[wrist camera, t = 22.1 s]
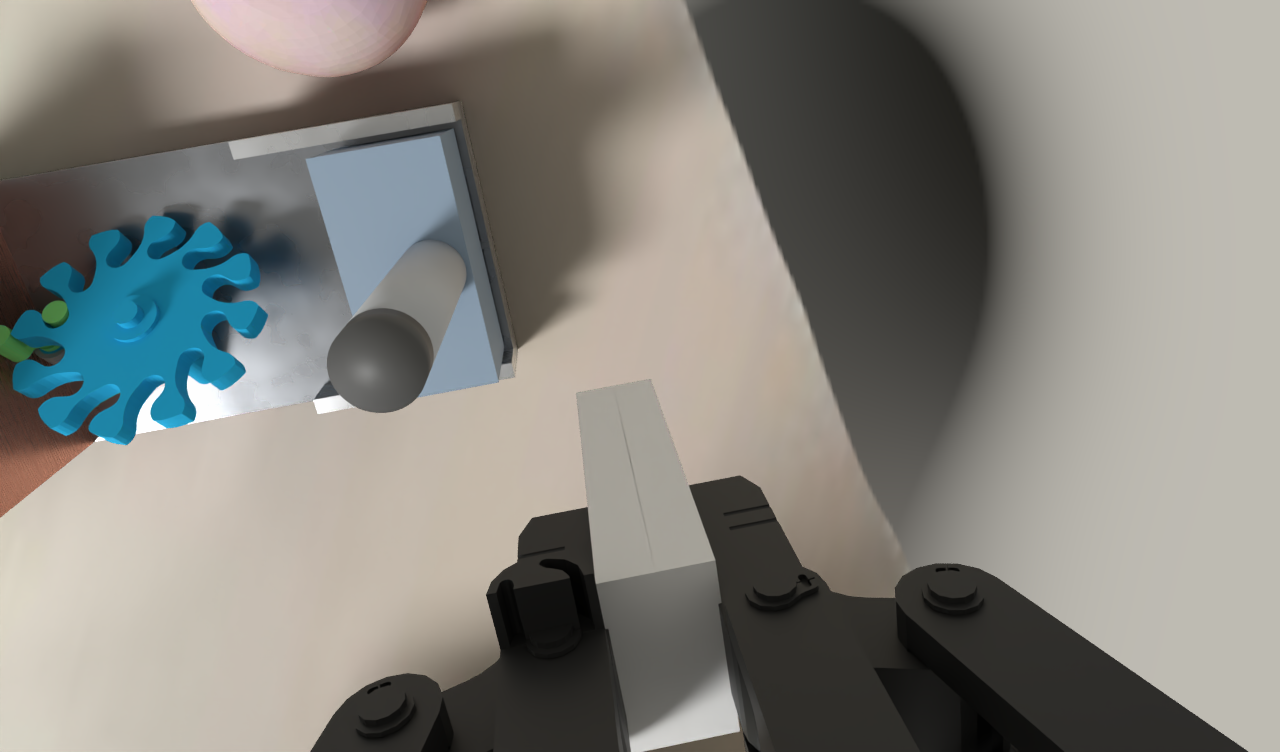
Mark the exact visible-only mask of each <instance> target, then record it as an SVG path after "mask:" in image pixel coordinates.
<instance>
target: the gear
mask: <svg viewBox="0 0 1280 752" xmlns="http://www.w3.org/2000/svg"><path fill="white" fill-rule="evenodd" d="M185 236H186V231H185V230H184V229H183V228H182V227H181V226H180V225H179V224H178V223H177V222H176V221H175V220H173V219H171V218H168V217H163V216H152V217H150V218H149V219H148V220H147V222H146V224H145V227H144V236H143V240H142V243H141V245H140V246H139V248H138V250H137V251H136V252H135V254H134V255H133V256H132V257H131V258H130V259H129V260H128V262H127V263H125V264H124V265H123V266H120V265H121V263H122V262H123V261H124V260H125V259H126V258H127V257H128V256H129V254H130V253H131V250H132V243H131V241H130V240H129V239H128V238H126V237H125V236H124V235H123V234H122V233H121V232H120V231H119V230H108V231H104V232H100V233H98V234H95V235H92V236H91V238H90V240H89V247H90V249H91V250H92V251H93V253H94V255H95V258H96V272H95V276H94V279H93V282H92V284H91V286H90V287H89V288H88V289H86V290H85V291H83V288H84V285H85V278H84V276H83V275H82V274H81V273H80V272H78V271H77V270H76V269H74V268H73V267H72V266H70V265H69V264H68V263H65V262H62V263H60V264H58V265H56V266H55V267H53V268H52V269H50V270H49V271H48V272H46V273H45V274H44V275H43V276H42V277H41V278H40V283H41V285H42V286H43V287H44V288H46V289H47V290H48V291H50V292H51V293H53V294H54V295H56V296H57V297H59V298H61V299H64V300H65V302H66V303H65V302H63V301H59V300H58V301H53V302H51V303H49V304H48V305H47V306H46V307H45V308H44V309H43V311H42V314H41V313H39V312H37V311H35V310H27V311H25V312H24V313H23V314H22V315H21V317H20V318H19V319H18V321H17V322H16V324H15V326H14V328H13V330H11V329H10V328H8V327H6V326H4V325H0V355H2V356H4V357H6V358H7V359H9V360H11V361H13V362H19V363H17V364H16V365H15V368H14V371H13V390H15V391H17V392H19V393H21V394H23V395H25V396H27V397H29V398H39V397H42V396H44V395H45V394H47V393H48V392H50V391H51V390H53V389H54V388H56V387H58V386H60V385H63V384H65V383H69V382H73V381H84V382H83V385H82V387H81V389H80V390H79V391H78V392H77V393H75V394H74V395H71V396H63V397H53V398H50V399H48V400H46V401H45V402H44V403H43V404H42V405H41V406H40V407H39V408H38V412H39V415H40V417H41V419H42V420H43V421H44V423H45V424H46V425H47V426H48V427H49V428H51V429H53V430H55V431H57V432H59V433H61V434H63V435H65V436H67V435H70V434H72V433H74V432H75V431H77V430H78V429H79V428H80V426H81V425H82V423H83V422H84V420H85V418H86V417H87V416H88V415H89V413H90V412H91V411H92V410H93V409H94V408H95V407H97V406H98V405H99V404H100V403H102V402H103V401H105V400H107V399H109V398H111V397H112V396H114V395H116V394H119V393H120V397H119V399H118V401H117V402H116V403H115V404H114V405H113V406H111V407H109V408H107V409H105V410H104V411H102V412H100V413H98V414H97V415H96V416H95V417H94V418H93V419H92V421H91V423H90V425H89V431H90V432H91V433H93V434H95V435H97V436H99V437H101V438H103V439H105V440H107V441H109V442H111V443H116V444H122V445H128V444H129V443H130V442H131V441H132V440H133V438H134V436H135V435H136V431H137V420H138V415H139V413H140V410H141V408H142V406H143V404H144V403H145V401H146V400H147V399H148V397H149V396H150V395H151V394H152V393H153V391H154V390H155V389H156V388H157V387H159V386H160V385H162V384H165V387H164V390H163V391H162V393H161V394H160V395H159V396H158V398H157V399H156V400H155V401H154V403H153V404H152V407H151V410H150V415H151V418H152V420H153V421H155V422H157V423H158V424H160V425H162V426H163V427H165V428H174V427H179V426H183V425H186V424H188V423H191V422H193V421H194V420H195V418H196V414H197V411H196V407H195V405H194V404H193V403H192V402H191V400H190V398H189V395H188V391H187V380H188V375H189V376H190V377H192V378H193V379H194V380H196V381H197V382H198V383H200V384H208V383H211V384H212V385H214V386H215V387H216V388H218V389H219V390H222V391H223V390H225V389H227V388H229V387H230V386H232V385H233V384H234V383H235V382H237V381H238V380H239V379H240V378H241V377H242V376H243V375H244V374H245V373H246V370H245V367H244V365H243V364H242V363H241V362H240V361H238V360H237V359H236V358H235V357H234V356H232V355H231V354H229V353H227V352H224V351H220V350H218V348H217V347H216V345H215V342H214V340H213V338H212V331H213V329H214V327H215V326H216V325H217V324H218V323H220V322H221V321H225V320H228V322H229V324H230V325H231V326H232V327H233V328H234V329H235V330H236V331H237V332H238V333H240V334H241V335H242V336H243V337H245V338H248V339H254V338H257V336H258V335H259V334H260V333H261V331H262V329H263V328H264V325H265V323H266V321H267V318H268V314H267V313H266V312H265V311H264V310H263V309H262V308H261V307H260V306H259V305H258V304H257V303H256V302H254V301H250V300H247V301H241V302H236V303H224V302H220V301H217V300H214V299H213V294H214V292H215V291H216V290H217V289H218V288H219V287H221V286H223V285H232V286H234V287H236V288H238V289H240V290H244V291H249V290H253V289H255V288H257V287H258V286H259V284H260V270H259V266H258V264H257V263H256V262H255V260H254V259H253V258H252V257H251V256H250V255H249V254H247V253H240V254H237V255H235V256H233V257H231V258H230V259H229V260H227V261H225V262H224V263H222V264H220V265H217V266H215V267H211V268H207V269H197V270H194V267H195V266H196V264H197V263H199V262H200V261H202V260H205V259H217V258H221V257H224V256H226V255H227V254H229V253H230V251H231V250H232V249H233V247H232V244H231V243H230V241H229V240H228V239H227V238H226V237H225V236H224V235H223V234H222V232H221V231H220V230H219V229H218V228H217V227H216V226H214V225H213V224H212V223H210V222H207V223H204V224H202V225H201V226H200V227H198V228H197V230H196V231H195V233H194V234H193V236H192V237H191V238H190V240H189V241H188V242H187V243H186V244H185V245H184V246H183V247H181V248H180V249H179V250H177V251H175V252H173V253H172V254H170V255H168V256H166V257H164V258H161V259H160V257H161V256H162V254H164V253H165V252H166V251H168V250H170V249H172V248H174V247H176V246H178V245H179V244H180V243H182V241H183V240H184V238H185ZM33 351H34V352H35V354H36V355H37V356H38V357H40V358H42V359H44V360H45V361H47V362H49V363H50V364H53V366H49V367H47V366H43V365H42V364H40V363H38V362H36V361H34V360H26V359H27V358H28V357H30V355H31V354H32V352H33Z"/></svg>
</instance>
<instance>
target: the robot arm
mask: <svg viewBox="0 0 1280 752" xmlns="http://www.w3.org/2000/svg"><path fill="white" fill-rule="evenodd" d="M576 396H577V406H578V416H579V426H580V436H581V446H582V456H583V465H584V475H585V485H586V495H587V505H588V507H586V508H581V509H576V510H571V511H566V512H560V513H555V514H550V515H545V516H540V517H534V518H532V519H531V520H530V522H529V523H528V524H527V526H526V527H525V529H524V530H523V531H522V533H521V534H520V536H519V541H518V559H517V563H515V564H513V565H512V566H510V567H508V568H506V569H505V570H503V571H502V572H501V573H500V574H499V575H498V576H497V577H496V578H495V579H494V580H493V581H492V582H491V584H490V586H489V589H488V591H487V594H486V596H487V600H488V604H489V608H490V611H491V615H492V619H493V623H494V627H495V630H496V634H497V638H498V642H499V645H500V649H501V652H500V658H499V660H498V661H497V662H496V663H495V664H493V665H492V666H491V667H489V668H488V669H487V670H485V671H484V672H483V673H481V674H479V675H478V676H476V677H474V678H472V679H470V680H468V681H466V682H464V683H462V684H459V685H457V686H455V687H452V688H450V689H448V690H446V691H443V692H441V690H440V688H439V685H438V683H436V682H435V681H433V680H432V679H430V678H428V677H427V676H425V675H417V674H409V673H407V674H401V675H396V676H390V677H386V678H383V679H381V680H379V681H376V682H374V683H372V684H369V685H367V686H365V687H364V688H362V689H361V690H359V691H358V692H357V693H355V694H354V695H352V696H351V697H349V698H348V699H347V700H346V701H345V702H344V703H343V704H342V706H341V707H340V708H339V709H338V710H337V711H336V713H335V714H334V715H333V716H332V718H331V720H330V721H329V723H328V724H327V726H326V728H325V729H324V731H323V732H322V734H321V736H320V737H319V739H318V740H317V742H316V744H315V745H314V747H313V748H312V750H311V752H644V751H648V750H653V749H658V748H663V747H668V746H672V745H677V744H682V743H687V742H692V741H696V740H701V739H706V738H711V737H715V736H720V735H725V734H730V733H735V732H739V731H740V727H739V720H740V723H741V726H742V730H743V735H744V742H745V749H746V752H1248V751H1247V750H1245V749H1244V748H1242V747H1241V746H1239V745H1238V744H1237V743H1235V742H1234V741H1232V740H1231V739H1229V738H1228V737H1226V736H1225V735H1224V734H1222V733H1221V732H1219V731H1218V730H1216V729H1215V728H1213V727H1212V726H1210V725H1209V724H1208V723H1206V722H1205V721H1203V720H1202V719H1200V718H1199V717H1198V716H1196V715H1195V714H1193V713H1192V712H1190V711H1189V710H1187V709H1186V708H1185V707H1183V706H1182V705H1180V704H1179V703H1177V702H1176V701H1175V700H1173V699H1171V698H1170V697H1169V696H1167V695H1166V694H1164V693H1163V692H1162V691H1160V690H1159V689H1157V688H1156V687H1154V686H1153V685H1151V684H1150V683H1149V682H1147V681H1146V680H1144V679H1143V678H1141V677H1140V676H1138V675H1137V674H1136V673H1134V672H1133V671H1131V670H1130V669H1128V668H1127V667H1125V666H1124V665H1123V664H1121V663H1120V662H1118V661H1117V660H1115V659H1114V658H1112V657H1111V656H1110V655H1108V654H1107V653H1105V652H1104V651H1102V650H1101V649H1099V648H1098V647H1097V646H1095V645H1094V644H1092V643H1091V642H1089V641H1088V640H1086V639H1085V638H1084V637H1082V636H1081V635H1079V634H1078V633H1076V632H1075V631H1073V630H1072V629H1070V628H1069V627H1068V626H1066V625H1065V624H1063V623H1062V622H1060V621H1059V620H1058V619H1056V618H1055V617H1053V616H1052V615H1050V614H1049V613H1047V612H1046V611H1044V610H1043V609H1042V608H1040V607H1039V606H1037V605H1036V604H1034V603H1033V602H1032V601H1030V600H1029V599H1027V598H1026V597H1024V596H1023V595H1021V594H1020V593H1019V592H1017V591H1016V590H1014V589H1013V588H1011V587H1010V586H1008V585H1007V584H1005V583H1004V582H1003V581H1001V580H1000V579H998V578H997V577H995V576H993V575H991V574H989V573H987V572H984V571H983V570H981V569H978V568H974V567H970V566H965V565H961V564H932V565H928V566H923V567H919V568H916V569H915V570H913V571H911V572H909V573H907V574H906V575H904V576H902V578H901V579H900V581H899V582H898V584H897V586H896V587H895V597H896V598H864V597H853V596H846V595H842V594H838V593H834V592H832V591H830V589H829V587H828V585H827V584H826V583H825V581H824V580H823V579H822V578H821V577H820V576H819V575H818V574H817V573H815V572H813V571H811V570H808V569H806V568H804V567H802V565H801V563H800V562H799V560H798V558H797V556H796V554H795V552H794V550H793V548H792V547H791V545H790V543H789V541H788V539H787V537H786V535H785V533H784V532H783V530H782V528H781V526H780V524H779V522H778V521H777V520H776V517H775V515H774V513H773V511H772V509H771V507H769V503H768V502H767V500H766V498H765V496H764V494H763V492H762V490H761V488H760V487H758V486H757V485H755V484H753V483H752V482H750V481H748V480H747V479H745V478H744V477H742V476H735V477H730V478H725V479H720V480H714V481H709V482H704V483H699V484H694V485H688V482H687V479H686V477H685V474H684V471H683V468H682V465H681V463H680V460H679V457H678V454H677V451H676V449H675V446H674V443H673V440H672V437H671V435H670V432H669V429H668V426H667V424H666V421H665V418H664V415H663V412H662V410H661V407H660V404H659V401H658V398H657V396H656V393H655V390H654V387H653V384H652V382H651V379H648V380H643V381H637V382H632V383H627V384H621V385H616V386H610V387H605V388H600V389H594V390H589V391H584V392H578V393H576ZM738 716H739V720H738Z"/></svg>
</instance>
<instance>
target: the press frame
mask: <svg viewBox="0 0 1280 752" xmlns="http://www.w3.org/2000/svg"><path fill="white" fill-rule="evenodd" d="M451 128H454V133H455V137H456V141H457V146H458V150H459V154H460V158H461V163H462V167H463V171H464V176H465V180H466V184H467V188H468V193H469V197H470V201H471V206H472V210H473V214H474V219H475V223H476V227H477V231H478V236H479V240H480V244H481V249H482V253H483V257H484V262H485V266H486V270H487V274H488V279H489V283H490V287H491V292H492V296H493V300H494V305H495V309H496V313H497V317H498V322H499V326H500V330H501V335H502V339H503V343H504V352H503V358H502V364H501V370H500V377H499V380H502V379H508V378H513V377H515V372H516V363H517V353H518V348H517V344H516V339H515V335H514V330H513V326H512V321H511V317H510V313H509V308H508V304H507V299H506V295H505V291H504V286H503V282H502V277H501V273H500V269H499V264H498V260H497V255H496V251H495V246H494V242H493V238H492V233H491V229H490V224H489V220H488V216H487V211H486V207H485V202H484V198H483V194H482V189H481V185H480V180H479V176H478V171H477V167H476V163H475V158H474V154H473V149H472V145H471V141H470V136H469V132H468V127H467V123H466V119H465V114H464V110H463V105H462V101H457V102H451V103H445V104H440V105H434V106H428V107H422V108H416V109H411V110H405V111H399V112H393V113H387V114H381V115H376V116H370V117H364V118H358V119H352V120H347V121H341V122H335V123H329V124H323V125H318V126H312V127H306V128H300V129H294V130H289V131H283V132H277V133H271V134H265V135H259V136H254V137H248V138H242V139H236V140H230V141H225V142H219V143H213V144H207V145H201V146H196V147H190V148H184V149H178V150H172V151H167V152H161V153H155V154H149V155H143V156H137V157H132V158H126V159H120V160H114V161H108V162H103V163H97V164H91V165H85V166H79V167H74V168H68V169H62V170H56V171H50V172H45V173H39V174H33V175H27V176H21V177H15V178H10V179H4V180H0V325H4V326H6V327H8V328H10V329H11V330H13V328H14V326H15V324H16V322H17V321H18V319H19V318H20V317H21V315H22V314H23V313H24V312H25V311H27V310H35V311H37V312H39V313H41V314H42V311H43V309H44V308H45V307H46V306H47V305H48V304H49V303H51V302H53V301H58V300H59V301H63V302H65V300H64V299H61V298H59V297H57V296H56V295H54V294H53V293H51V292H50V291H48V290H47V289H46V288H44V287H43V286H42V285H41V283H40V278H41V277H42V276H43V275H44V274H45V273H46V272H48V271H49V270H50V269H52V268H53V267H55V266H56V265H58V264H60V263H62V262H65V263H68V264H69V265H70V266H72V267H73V268H74V269H76V270H77V271H78V272H80V273H81V274H82V275H83V276H84V278H85V285H84V288H83V291H85V290H86V289H88V288H89V287H90V286H91V284H92V282H93V279H94V276H95V272H96V258H95V255H94V253H93V251H92V250H91V249H90V247H89V240H90V238H91V236H92V235H95V234H98V233H100V232H104V231H108V230H119V231H120V232H121V233H122V234H123V235H124V236H125V237H126V238H128V239H129V240H130V241H131V243H132V250H131V253H130V254H129V256H128V257H127V258H126V259H125V260H124V261H123V262H122V263H121V265H120V266H123V265H124V264H125V263H127V262H128V260H129V259H130V258H131V257H132V256H133V255H134V254H135V252H136V251H137V250H138V248H139V246H140V245H141V243H142V240H143V236H144V227H145V224H146V222H147V220H148V219H149V218H150V217H152V216H163V217H168V218H171V219H173V220H175V221H176V222H177V223H178V224H179V225H180V226H181V227H182V228H183V229H184V230H185V231H186V236H185V238H184V240H183V241H182V243H180V244H179V245H178V246H176V247H174V248H172V249H170V250H168V251H166V252H165V253H164V254H162V256H161V257H160V259H161V258H164V257H166V256H168V255H170V254H172V253H173V252H175V251H177V250H179V249H180V248H181V247H183V246H184V245H185V244H186V243H187V242H188V241H189V240H190V238H191V237H192V236H193V234H194V233H195V231H196V230H197V228H198V227H200V226H201V225H202V224H204V223H207V222H210V223H212V224H213V225H214V226H216V227H217V228H218V229H219V230H220V231H221V232H222V234H223V235H224V236H225V237H226V238H227V239H228V240H229V241H230V243H231V244H232V247H233V249H232V250H231V251H230V253H229V254H227V255H226V256H224V257H221V258H217V259H205V260H202V261H200V262H199V263H197V264H196V266H195V267H194V270H197V269H207V268H211V267H215V266H217V265H220V264H222V263H224V262H225V261H227V260H229V259H230V258H231V257H233V256H235V255H237V254H240V253H247V254H249V255H250V256H251V257H252V258H253V259H254V260H255V262H256V263H257V264H258V266H259V270H260V284H259V286H258V287H257V288H255V289H253V290H249V291H244V290H240V289H238V288H236V287H234V286H232V285H223V286H221V287H219V288H218V289H217V290H216V291H215V292H214V294H213V299H214V300H217V301H220V302H224V303H236V302H241V301H247V300H250V301H254V302H256V303H257V304H258V305H259V306H260V307H261V308H262V309H263V310H264V311H265V312H266V313H267V314H268V318H267V321H266V323H265V325H264V328H263V329H262V331H261V333H260V334H259V335H258V336H257V338H254V339H248V338H245V337H243V336H242V335H241V334H240V333H238V332H237V331H236V330H235V329H234V328H233V327H232V326H231V325H230V324H229V322H228V320H225V321H221V322H220V323H218V324H217V325H216V326H215V327H214V329H213V331H212V338H213V340H214V342H215V345H216V347H217V348H218V350H220V351H224V352H227V353H229V354H231V355H232V356H234V357H235V358H236V359H237V360H238V361H240V362H241V363H242V364H243V365H244V367H245V370H246V373H245V374H244V375H243V376H242V377H241V378H240V379H239V380H238V381H237V382H235V383H234V384H233V385H232V386H230V387H229V388H227V389H225V390H223V391H222V390H219V389H218V388H216V387H215V386H214V385H212V384H211V383H208V384H200V383H198V382H197V381H196V380H194V379H193V378H192V377H190V376H189V375H188V380H187V391H188V395H189V398H190V400H191V402H192V403H193V404H194V405H195V407H196V411H197V414H196V418H195V420H194V421H193V422H191V423H197V422H202V421H208V420H213V419H218V418H224V417H229V416H234V415H240V414H245V413H250V412H256V411H261V410H266V409H272V408H277V407H282V406H288V405H293V404H299V403H304V402H309V401H314V404H315V407H316V410H317V413H318V414H321V413H327V412H332V411H337V410H343V409H348V408H353V407H355V406H353V405H352V404H350V403H348V402H347V401H346V400H345V399H343V398H342V397H341V396H340V395H339V394H338V392H337V391H336V390H335V388H334V387H333V385H332V383H331V381H330V378H329V375H328V371H327V356H328V351H329V349H330V346H331V344H332V342H333V341H334V339H335V338H336V337H337V335H338V334H339V333H340V332H341V330H342V329H343V328H344V327H345V326H346V324H347V323H348V322H349V321H350V319H351V318H352V317H353V316H352V313H351V310H350V306H349V303H348V300H347V296H346V293H345V290H344V286H343V283H342V280H341V276H340V273H339V270H338V266H337V263H336V260H335V256H334V253H333V250H332V246H331V243H330V240H329V236H328V233H327V230H326V226H325V223H324V220H323V216H322V213H321V210H320V206H319V203H318V200H317V196H316V193H315V190H314V186H313V183H312V180H311V176H310V173H309V170H308V166H307V163H306V159H307V158H310V157H313V156H316V155H318V154H321V153H324V152H327V151H330V150H333V149H336V148H341V147H347V146H353V145H359V144H364V143H370V142H376V141H382V140H387V139H393V138H399V137H405V136H410V135H416V134H422V133H428V132H433V131H439V130H445V129H451ZM65 303H66V302H65ZM26 360H34V361H36V362H38V363H40V364H42V365H43V366H47V367H49V366H53V364H50V363H49V362H47V361H45V360H44V359H42V358H40V357H38V356H37V355H36V354H35V352H34V351H33V352H32V354H31V355H30V357H28V358H27V359H26ZM17 363H19V362H13V361H11V360H9V359H7V358H6V357H4V356H2V355H0V517H2V516H3V515H4V514H5V513H6V512H8V511H9V510H10V509H11V508H13V507H14V506H15V505H16V504H18V503H19V502H20V501H21V500H23V499H24V498H25V497H26V496H28V495H29V494H30V493H31V492H33V491H34V490H35V489H36V488H37V487H39V486H40V485H41V484H42V483H44V482H45V481H46V480H47V479H49V478H50V477H51V476H52V475H54V474H55V473H56V472H57V471H59V470H60V469H61V468H62V467H64V466H65V465H66V464H67V463H68V462H70V461H71V460H72V459H73V458H75V457H76V456H77V455H78V454H80V453H81V452H82V451H83V450H85V449H86V448H87V447H88V446H90V445H91V444H92V443H93V442H95V441H100V440H105V439H103V438H101V437H99V436H97V435H95V434H93V433H91V432H90V431H89V425H90V423H91V421H92V419H93V418H94V417H95V416H96V415H97V414H98V413H100V412H102V411H104V410H105V409H107V408H109V407H111V406H113V405H114V404H115V403H116V402H117V401H118V399H119V397H120V393H119V394H116V395H114V396H112V397H111V398H109V399H107V400H105V401H103V402H102V403H100V404H99V405H98V406H97V407H95V408H94V409H93V410H92V411H91V412H90V413H89V415H88V416H87V417H86V418H85V420H84V422H83V423H82V425H81V426H80V428H79V429H78V430H77V431H75V432H74V433H72V434H70V435H67V436H65V435H63V434H61V433H59V432H57V431H55V430H53V429H51V428H49V427H48V426H47V425H46V424H45V423H44V421H43V420H42V419H41V417H40V415H39V412H38V408H39V407H40V406H41V405H42V404H43V403H44V402H45V401H46V400H48V399H50V398H53V397H63V396H71V395H74V394H75V393H77V392H78V391H79V390H80V389H81V387H82V385H83V382H84V381H73V382H69V383H65V384H63V385H60V386H58V387H56V388H54V389H53V390H51V391H50V392H48V393H47V394H45V395H44V396H42V397H39V398H29V397H27V396H25V395H23V394H21V393H19V392H17V391H15V390H13V371H14V368H15V365H16V364H17ZM164 387H165V384H162V385H160V386H159V387H157V388H156V389H155V390H154V391H153V393H152V394H151V395H150V396H149V397H148V399H147V400H146V401H145V403H144V404H143V406H142V408H141V410H140V413H139V415H138V420H137V431H136V434H138V433H143V432H149V431H154V430H159V429H165V427H163V426H162V425H160V424H158V423H157V422H155V421H153V420H152V418H151V415H150V410H151V407H152V404H153V403H154V401H155V400H156V399H157V398H158V396H159V395H160V394H161V393H162V391H163V390H164ZM191 423H188V424H191Z"/></svg>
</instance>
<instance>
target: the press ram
mask: <svg viewBox="0 0 1280 752" xmlns="http://www.w3.org/2000/svg"><path fill="white" fill-rule="evenodd" d="M306 163H307V166H308V170H309V173H310V176H311V180H312V183H313V186H314V190H315V193H316V196H317V200H318V203H319V206H320V210H321V213H322V216H323V220H324V223H325V226H326V230H327V233H328V236H329V240H330V243H331V246H332V250H333V253H334V256H335V260H336V263H337V266H338V270H339V273H340V276H341V280H342V283H343V286H344V290H345V293H346V296H347V300H348V303H349V306H350V310H351V313H352V316H353V317H352V318H351V319H350V321H349V322H348V323H347V324H346V326H345V327H344V328H343V329H342V330H341V332H340V333H339V334H338V335H337V337H336V338H335V339H334V341H333V342H332V344H331V346H330V349H329V351H328V356H327V371H328V375H329V378H330V381H331V383H332V385H333V387H334V388H335V390H336V391H337V392H338V394H339V395H340V396H341V397H342V398H343V399H345V400H346V401H347V402H348V403H350V404H352V405H353V406H355V407H357V408H359V409H362V410H365V411H369V412H376V413H386V412H392V411H396V410H399V409H402V408H404V407H406V406H407V405H409V404H410V403H412V402H413V401H414V400H415V399H416V398H417V397H423V396H428V395H433V394H439V393H444V392H449V391H455V390H460V389H465V388H471V387H476V386H481V385H487V384H492V383H497V382H499V377H500V370H501V364H502V358H503V352H504V343H503V339H502V335H501V330H500V326H499V322H498V317H497V313H496V309H495V305H494V300H493V296H492V292H491V287H490V283H489V279H488V274H487V270H486V266H485V262H484V257H483V253H482V249H481V244H480V240H479V236H478V231H477V227H476V223H475V219H474V214H473V210H472V206H471V201H470V197H469V193H468V188H467V184H466V180H465V176H464V171H463V167H462V163H461V158H460V154H459V150H458V146H457V141H456V137H455V133H454V128H451V129H445V130H439V131H433V132H428V133H422V134H416V135H410V136H405V137H399V138H393V139H387V140H382V141H376V142H370V143H364V144H359V145H353V146H347V147H341V148H336V149H333V150H330V151H327V152H324V153H321V154H318V155H316V156H313V157H310V158H307V159H306Z"/></svg>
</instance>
